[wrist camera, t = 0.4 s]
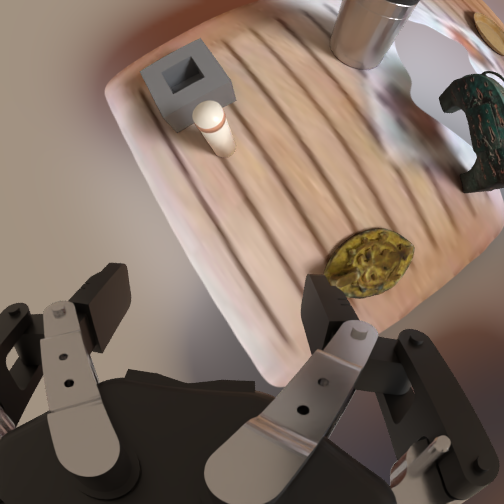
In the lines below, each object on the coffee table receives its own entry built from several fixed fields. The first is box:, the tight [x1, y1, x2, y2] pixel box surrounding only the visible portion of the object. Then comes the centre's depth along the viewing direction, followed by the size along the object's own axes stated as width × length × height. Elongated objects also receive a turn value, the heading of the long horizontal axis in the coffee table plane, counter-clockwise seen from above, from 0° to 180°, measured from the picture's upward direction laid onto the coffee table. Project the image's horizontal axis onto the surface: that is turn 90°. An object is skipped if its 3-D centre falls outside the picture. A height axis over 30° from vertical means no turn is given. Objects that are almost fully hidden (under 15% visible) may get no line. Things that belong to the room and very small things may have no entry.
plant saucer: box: [474, 13, 504, 56], centre depth 31 cm, size 15×15×3 cm
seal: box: [324, 229, 415, 299], centre depth 36 cm, size 9×5×15 cm
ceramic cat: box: [439, 71, 504, 193], centre depth 26 cm, size 20×6×20 cm, turn 9°
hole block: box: [140, 38, 236, 133], centre depth 35 cm, size 10×10×6 cm
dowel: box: [192, 101, 236, 158], centre depth 32 cm, size 3×3×12 cm
